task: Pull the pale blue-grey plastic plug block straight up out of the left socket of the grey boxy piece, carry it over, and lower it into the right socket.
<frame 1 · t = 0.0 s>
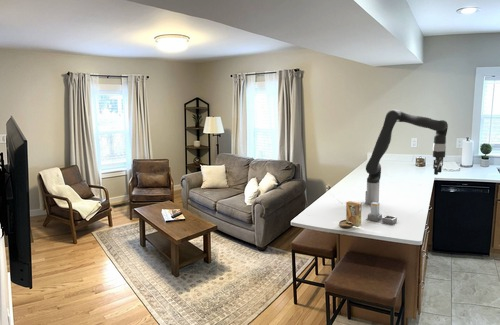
hand: (437, 173, 236), 29 cm above the countertop, fingers open, 8 cm apart
grey boxy piece: (381, 221, 230), on the countertop
candy box: (353, 225, 226), on the countertop
plug: (374, 218, 233), point 1 cm above the countertop, touching grey boxy piece
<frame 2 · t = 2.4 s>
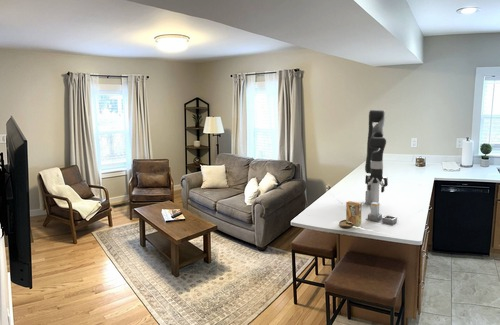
hand: (375, 191, 230), 20 cm above the countertop, fingers open, 8 cm apart
nothing on the countertop moved.
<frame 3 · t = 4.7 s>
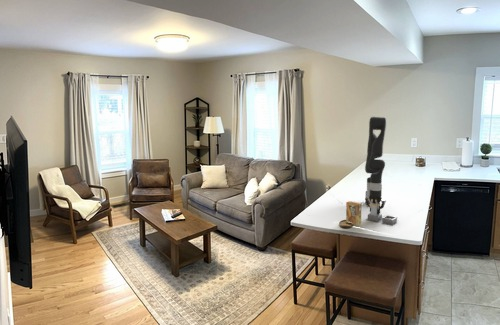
hand: (374, 213, 233), 5 cm above the countertop, fingers closed on plug, 4 cm apart
plug: (374, 218, 233), point 1 cm above the countertop, touching gripper, grey boxy piece
everything else where it was.
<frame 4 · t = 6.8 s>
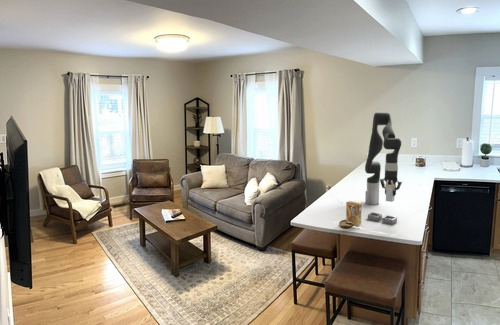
hand: (390, 195, 223), 19 cm above the countertop, fingers closed on plug, 4 cm apart
plug: (390, 200, 224), point 15 cm above the countertop, touching gripper
everything else where it was.
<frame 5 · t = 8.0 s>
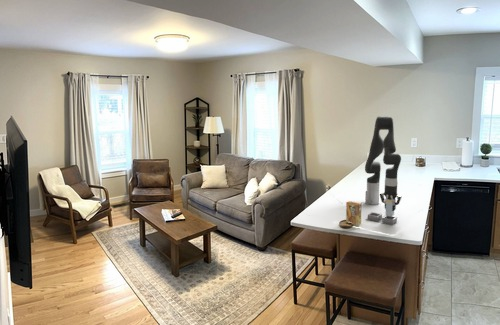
hand: (390, 209, 225), 9 cm above the countertop, fingers closed on plug, 4 cm apart
plug: (389, 215, 226), point 5 cm above the countertop, touching gripper
everything else where it was.
when the fingers open (6 cm above the countertop, at t = 9.1 s): plug stays where it is, resting on grey boxy piece.
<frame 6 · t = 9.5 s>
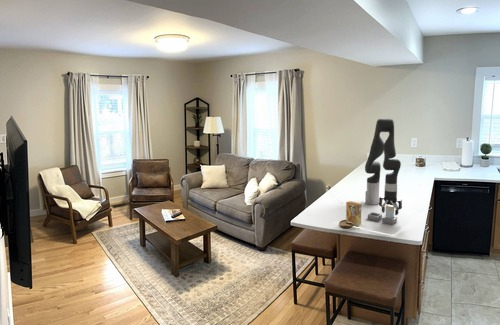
hand: (389, 213, 226), 7 cm above the countertop, fingers open, 8 cm apart
plug: (389, 221, 227), point 1 cm above the countertop, touching grey boxy piece
everything else where it was.
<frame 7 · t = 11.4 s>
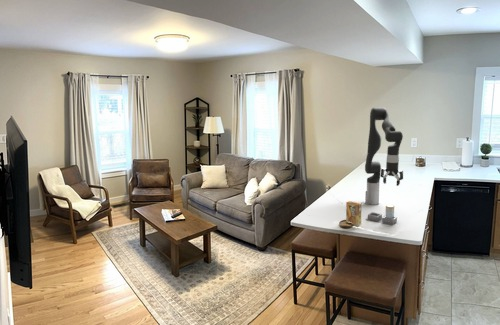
hand: (391, 184, 233), 24 cm above the countertop, fingers open, 8 cm apart
nothing on the countertop moved.
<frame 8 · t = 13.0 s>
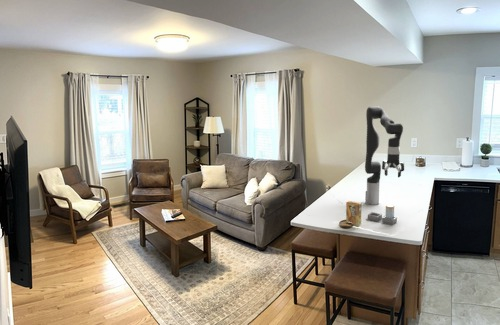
hand: (392, 176, 237), 28 cm above the countertop, fingers open, 8 cm apart
nothing on the countertop moved.
at the end: plug 0.0 cm from the target spot on the grey boxy piece, point 1.0 cm above the grey boxy piece's base; plug tilted 0°; the gripper is holding nothing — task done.
